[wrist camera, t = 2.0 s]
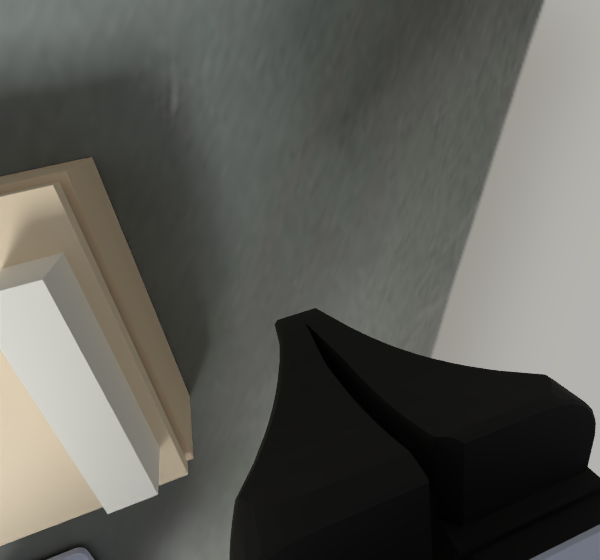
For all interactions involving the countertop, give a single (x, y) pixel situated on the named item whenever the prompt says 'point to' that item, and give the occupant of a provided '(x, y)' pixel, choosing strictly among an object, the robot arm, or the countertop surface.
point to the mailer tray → (118, 281)
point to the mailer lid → (69, 379)
